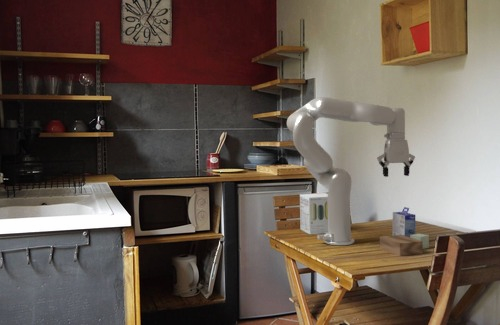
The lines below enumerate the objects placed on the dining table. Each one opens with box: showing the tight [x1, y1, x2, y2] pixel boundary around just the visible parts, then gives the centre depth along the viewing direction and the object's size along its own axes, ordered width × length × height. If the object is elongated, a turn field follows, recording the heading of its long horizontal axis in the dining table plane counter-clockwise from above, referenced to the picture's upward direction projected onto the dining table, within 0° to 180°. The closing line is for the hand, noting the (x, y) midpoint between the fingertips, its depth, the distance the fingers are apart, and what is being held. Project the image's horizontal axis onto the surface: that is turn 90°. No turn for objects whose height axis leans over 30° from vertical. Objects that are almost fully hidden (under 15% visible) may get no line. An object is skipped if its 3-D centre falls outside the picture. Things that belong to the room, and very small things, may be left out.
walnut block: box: [379, 235, 424, 257], centre depth 202 cm, size 10×14×5 cm
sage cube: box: [410, 233, 430, 250], centre depth 207 cm, size 5×5×5 cm
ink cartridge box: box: [391, 206, 416, 237], centre depth 217 cm, size 10×6×14 cm, turn 15°
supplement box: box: [299, 192, 328, 235], centre depth 246 cm, size 13×13×18 cm
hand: (396, 176), depth 224 cm, fingers open, 9 cm apart
